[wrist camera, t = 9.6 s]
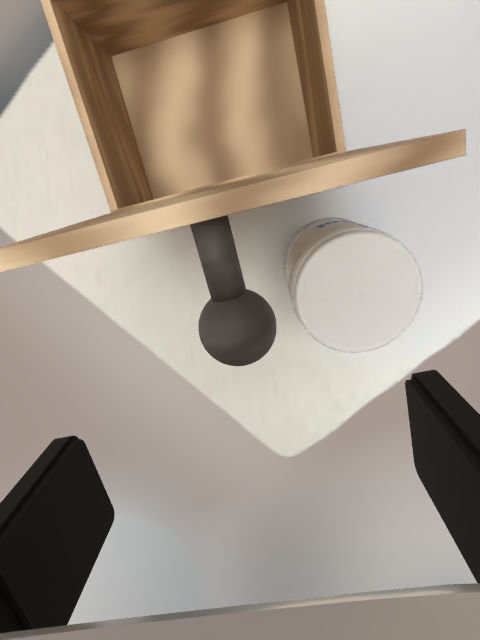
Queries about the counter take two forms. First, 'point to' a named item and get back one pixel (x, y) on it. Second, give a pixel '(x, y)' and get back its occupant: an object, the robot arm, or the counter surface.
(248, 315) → the lid
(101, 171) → the wooden box
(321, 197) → the counter surface
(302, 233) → the supplement tub
